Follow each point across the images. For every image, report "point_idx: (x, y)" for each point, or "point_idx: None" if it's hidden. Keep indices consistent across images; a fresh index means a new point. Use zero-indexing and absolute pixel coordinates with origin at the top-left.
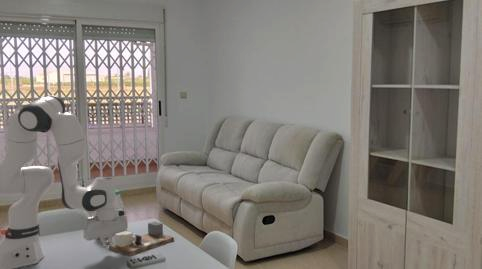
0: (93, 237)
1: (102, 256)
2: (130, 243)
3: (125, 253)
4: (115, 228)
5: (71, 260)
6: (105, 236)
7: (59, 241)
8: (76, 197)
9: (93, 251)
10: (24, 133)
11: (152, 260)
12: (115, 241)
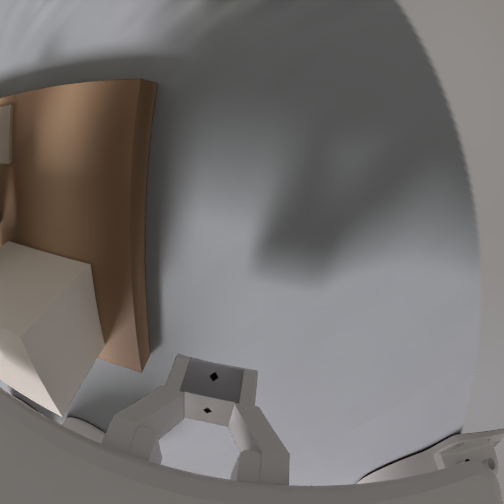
0: (453, 489)
1: (304, 301)
2: (16, 249)
3: (145, 139)
4: (28, 485)
5: (422, 391)
6: (86, 429)
7: None
8: None
9: None
10: None
11: None
12: (88, 361)
